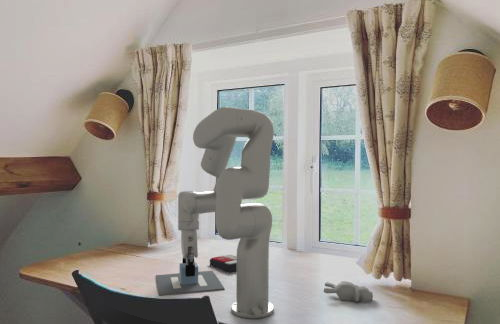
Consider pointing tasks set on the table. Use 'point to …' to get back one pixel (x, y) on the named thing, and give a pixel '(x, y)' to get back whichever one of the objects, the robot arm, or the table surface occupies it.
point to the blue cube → (190, 279)
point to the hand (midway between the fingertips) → (188, 272)
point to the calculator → (225, 263)
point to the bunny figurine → (349, 292)
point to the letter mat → (172, 285)
